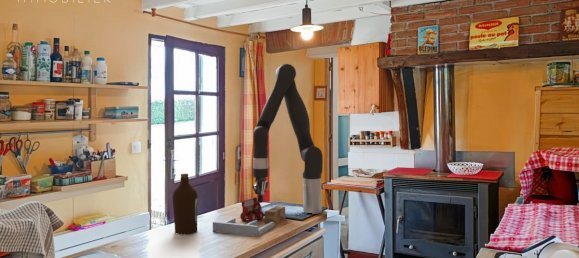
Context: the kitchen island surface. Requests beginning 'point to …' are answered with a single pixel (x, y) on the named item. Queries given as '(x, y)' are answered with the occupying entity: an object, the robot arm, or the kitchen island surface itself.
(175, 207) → the olive oil
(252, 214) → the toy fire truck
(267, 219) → the wing block
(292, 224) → the kitchen island surface
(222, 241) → the kitchen island surface
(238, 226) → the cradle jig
